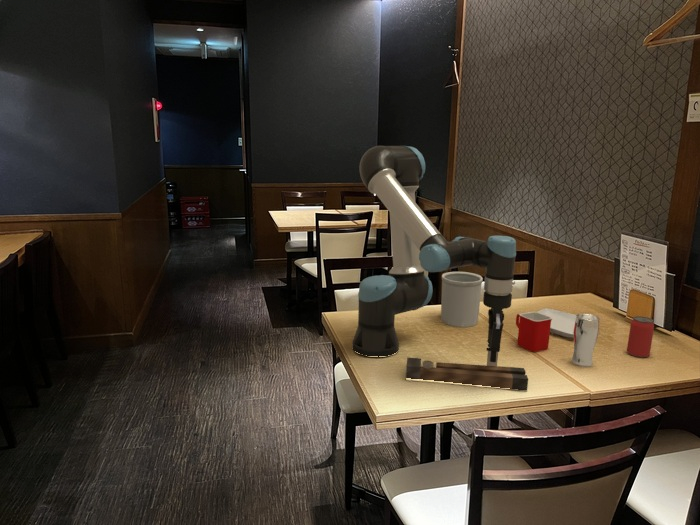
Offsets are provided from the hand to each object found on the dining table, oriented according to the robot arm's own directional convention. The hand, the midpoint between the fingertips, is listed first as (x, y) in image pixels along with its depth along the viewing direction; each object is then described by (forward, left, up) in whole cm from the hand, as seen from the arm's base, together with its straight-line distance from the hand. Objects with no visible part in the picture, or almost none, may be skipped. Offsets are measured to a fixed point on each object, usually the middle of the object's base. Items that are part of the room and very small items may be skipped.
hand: (491, 370), depth 148 cm
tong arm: (-3, -2, -2) cm, 4 cm away
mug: (+15, +28, -2) cm, 32 cm away
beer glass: (+29, +16, -2) cm, 33 cm away
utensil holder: (-7, +47, -2) cm, 47 cm away
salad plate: (+29, +48, -3) cm, 56 cm away
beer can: (+49, +27, -2) cm, 56 cm away
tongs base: (-8, -4, -2) cm, 9 cm away
